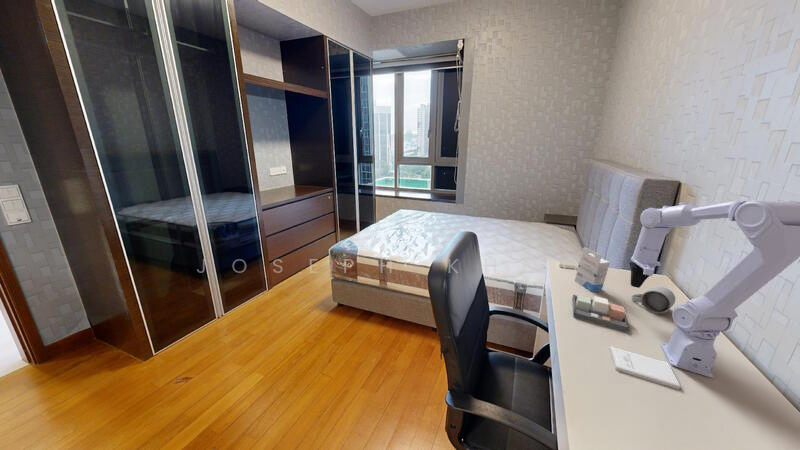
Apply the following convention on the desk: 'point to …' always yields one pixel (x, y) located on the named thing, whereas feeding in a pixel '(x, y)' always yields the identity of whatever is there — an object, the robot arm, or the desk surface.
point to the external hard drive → (644, 367)
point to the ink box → (591, 270)
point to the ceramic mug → (656, 299)
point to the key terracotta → (616, 312)
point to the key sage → (583, 303)
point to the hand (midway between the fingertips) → (634, 286)
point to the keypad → (598, 317)
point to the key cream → (600, 304)
